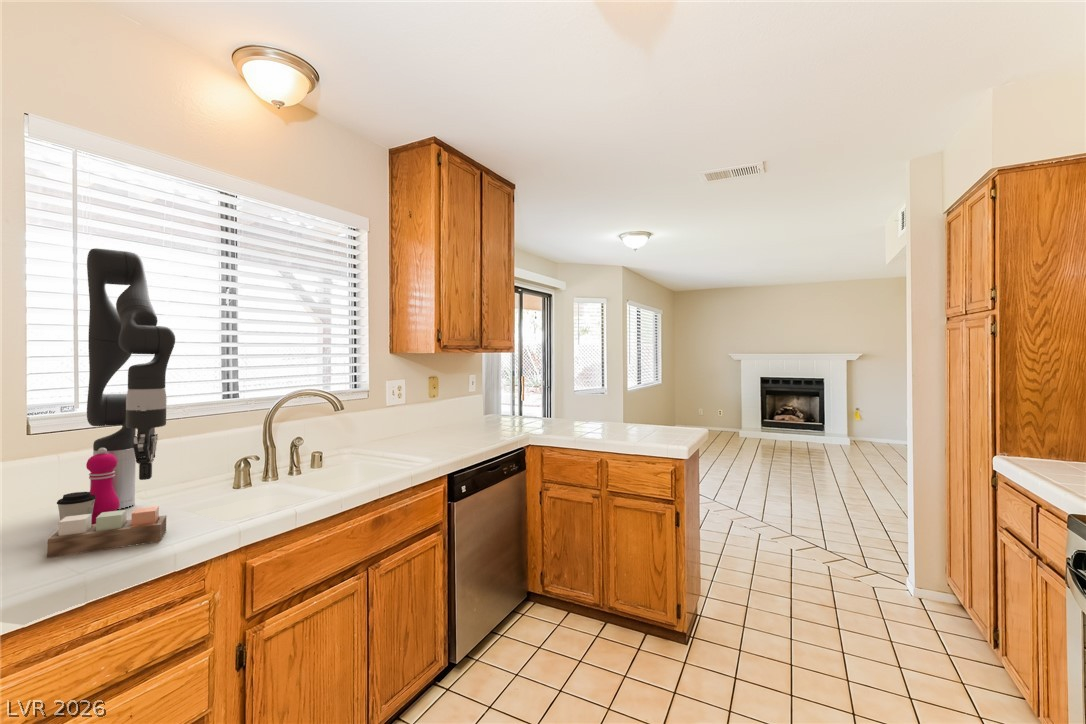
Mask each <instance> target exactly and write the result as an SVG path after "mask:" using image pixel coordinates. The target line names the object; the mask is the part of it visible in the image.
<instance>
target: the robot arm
mask: <svg viewBox="0 0 1086 724" xmlns="http://www.w3.org/2000/svg"><path fill="white" fill-rule="evenodd" d="M86 270H87V273H86V274H87V285H88V287H87V288H88V297H89V299H88V300H89V319H88V320H89V321H88V363H89V365H88V366H89V368H88V369H89V372H88V374H89V377H88V379H89V380H88V390H87V400H86V401H87V402H86V403H87V404H86V419H87V422H88V424H89V426H92V427H109V426H110V427H111V426H122V427H121V428H120V429H119V430H117V431H116V432H114V433H112V434H109V435H106V436H103V437H100V438H98V439H95V440H94V441H93V444H92V445H93V446H92V447H93V448H92V450H93V451H92V452H93V453H92V454H93V455H92V456H94V455H96V454H99V453H98V450H99V449H100V448H106V449H107V452H106V453H108V454H112V455H114V456H115V457H116V458H117V466H116V467H115V468H114V469H113V471H115V472H114V475H115V476H113V478H112V485H113V489H114V491H115V493H116V495H117V496H118V499H119V502H120V506H119V508H118V509H119V510H122V509H121V508H124V509H126V508H125V507H128V508H130V507H129V506H131V507H133V506H134V505H135V503H136V464H137V465H138V468H139V469H138V479H139V480H140V481H144V480H146V481H147V480H150V479H151V478H152V477H153V463H154V460H155V458H156V451H157V444H158V440H159V435H158V433H156V430H155V428H162V427H165V426H166V425H167V392H166V372H167V368H168V363H169V361H170V357H171V355H172V352H173V351H174V348H175V345H176V335H175V333H174V332H173V330H172V329H171V328H169V327H167V326H161V325H159V326H158V322H159V321H158V317H157V314H156V312H155V309H154V306H153V305H152V302H151V300H150V295H149V288H148V282H147V276H146V273H145V267H144V262H143V261H142V258H141V257H140V256H139V255H138V253H135V252H132V251H126V250H117V249H116V250H115V249H107V248H106V249H105V248H97V247H96V248H91V249H90V250H89V251H88V254H87V258H86ZM106 285H117V286H128V287H127V288H126V289H125V290H123V291H122V292H121V293H120V294H119V295H118V297H117V299H116V303H115V305H114V304H113V302H112V301H111V299H110V297H109V296H108V294H107V289H106ZM132 355H154V356H153V358H152V359H151V360H149V362H145V363H138V364H134V365H133V364H132V365H131V366H129V367H128V370H127V371H128V372H127V393H106V394H105V393H104V390H105V388H106V386H107V384H109V382H110V381H111V379H112V378H113V376H114V375H115V374H116V373H117V372H118V371H119V370H120V369H121V368H122V367H123V366H124V364H126V363H127V362H128V361H129V359H130V358H131V356H132ZM136 430H137V431H136ZM136 433H137V434H136ZM90 489H91V479H89V490H90ZM132 505H133V506H132Z"/></svg>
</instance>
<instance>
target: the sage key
mask: <svg viewBox="0 0 1086 724" xmlns="http://www.w3.org/2000/svg"><path fill="white" fill-rule="evenodd" d="M126 520H127V509H119V510H116V511H111V512H102V513H101V514H100V515H99V516H98V517H97V518H96V531H102V530H109V529H117V528H123V527H124V526H125V524H126Z"/></svg>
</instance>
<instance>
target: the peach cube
mask: <svg viewBox="0 0 1086 724" xmlns="http://www.w3.org/2000/svg"><path fill="white" fill-rule="evenodd" d="M159 508H160V506H159V505H156V506H155V505H154V506H148V507H147V506H146V507H140V508H138V507H137V508H134V510H133V511H132V512H131V517H130V518H131V519H130V520H131V526H134V525H142V524H150V523H155V524H156V523H157V522H158V520H159V516H160V515H159V514H160V513H159V511H160V509H159Z"/></svg>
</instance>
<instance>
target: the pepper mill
mask: <svg viewBox="0 0 1086 724" xmlns="http://www.w3.org/2000/svg"><path fill="white" fill-rule="evenodd" d="M106 452H107V449H106V448H100V449H99V450H98V453H99V454H96V455H94V456H93V455H92V456H91V457H89V458H88V459H87V461H86V463H85V464H86V466H85V467H86V469H87V471H89V472H90V473H89V474H88V476H89V477H88V479H89V480H90V479H91V489H90V488H89V492H90V494H91V495H95V497H96V499H95V501H94V507H93V513H92V519H91V524H96V518H97V517H98V516H99V515H100V514H101V513H102V512H111V511H118V510H117V509H118V508H119V506H120V502H119V499H118V496H117V495H116V493H115V491H114V489H113V485H112V478H113V476H115V475H114V472H115V471H113V469H114V468H115V467H116V466H117V458H116V457H115V456H114V455H112V454H108V453H106Z"/></svg>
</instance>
